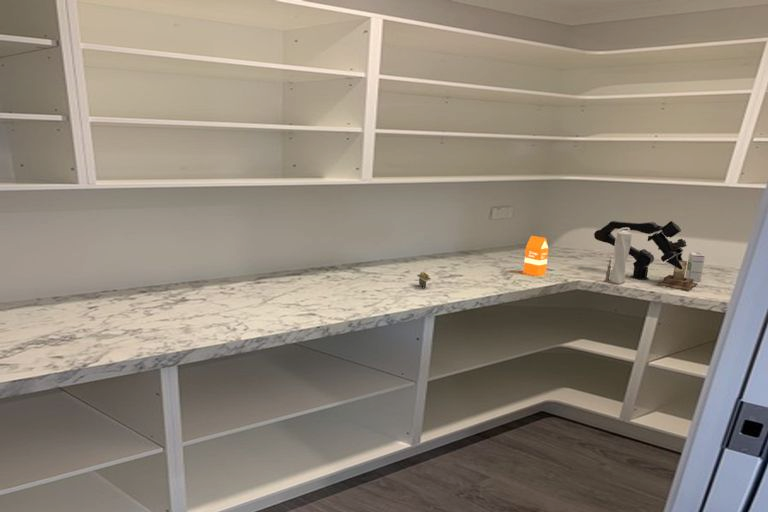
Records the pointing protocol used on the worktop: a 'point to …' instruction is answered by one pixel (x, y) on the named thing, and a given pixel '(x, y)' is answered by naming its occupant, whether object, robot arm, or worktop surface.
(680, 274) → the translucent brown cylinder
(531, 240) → the orange juice
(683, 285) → the walnut dock
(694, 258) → the syrup box
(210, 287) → the worktop surface
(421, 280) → the olive brown upright piece
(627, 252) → the skyscraper
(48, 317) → the worktop surface
